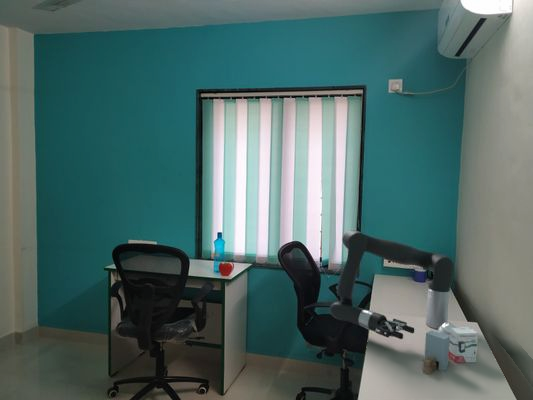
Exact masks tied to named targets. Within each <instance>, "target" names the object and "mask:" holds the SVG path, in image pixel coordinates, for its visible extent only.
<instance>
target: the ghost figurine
mask: <svg viewBox="0 0 533 400" xmlns="http://www.w3.org/2000/svg"><path fill="white" fill-rule="evenodd" d="M451 328H457V326H455V325H454V324H453V323H452V322H449V321H448V322H445V323H444V324H443V325H442V326H440V327H439V329H437V331H436V332H438V333H441V334H444V335H447V336H450V329H451ZM449 345H450V339H449Z"/></svg>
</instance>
